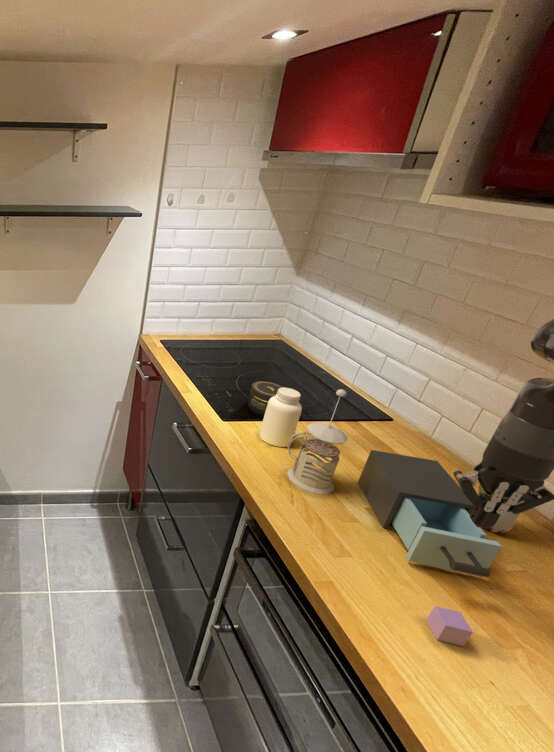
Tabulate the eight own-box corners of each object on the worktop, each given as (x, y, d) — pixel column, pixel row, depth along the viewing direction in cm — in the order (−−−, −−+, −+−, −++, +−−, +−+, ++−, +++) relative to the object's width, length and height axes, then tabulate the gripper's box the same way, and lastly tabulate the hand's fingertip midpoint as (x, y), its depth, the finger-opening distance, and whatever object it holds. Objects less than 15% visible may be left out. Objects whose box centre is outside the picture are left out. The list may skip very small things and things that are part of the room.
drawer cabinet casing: (455, 543, 91) (476, 506, 87) (382, 527, 94) (399, 491, 90) (420, 494, 104) (437, 460, 100) (357, 482, 107) (371, 449, 103)
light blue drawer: (499, 601, 78) (521, 569, 75) (421, 582, 81) (438, 551, 78) (443, 524, 94) (459, 495, 91) (379, 511, 97) (392, 483, 94)
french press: (338, 499, 102) (375, 405, 92) (281, 485, 106) (311, 393, 96) (329, 473, 110) (363, 384, 100) (277, 461, 114) (304, 374, 104)
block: (451, 626, 75) (460, 611, 73) (463, 646, 72) (473, 632, 70) (425, 619, 76) (434, 605, 74) (436, 639, 73) (445, 625, 71)
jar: (259, 399, 143) (264, 378, 140) (289, 413, 136) (296, 391, 132) (239, 406, 139) (245, 385, 136) (269, 422, 131) (276, 399, 128)
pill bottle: (294, 439, 123) (310, 392, 117) (285, 451, 118) (301, 403, 112) (264, 427, 128) (277, 381, 122) (254, 439, 123) (267, 391, 117)
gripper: (490, 448, 69) (444, 531, 76) (601, 465, 65) (543, 551, 72) (462, 422, 75) (423, 501, 82) (562, 437, 72) (512, 518, 79)
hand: (479, 524), depth 77 cm, fingers closed
